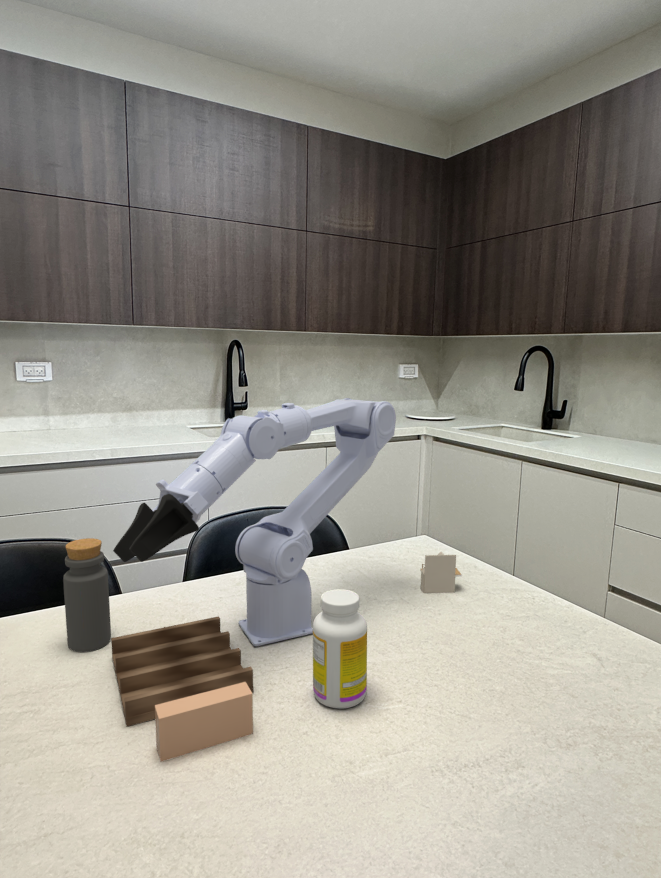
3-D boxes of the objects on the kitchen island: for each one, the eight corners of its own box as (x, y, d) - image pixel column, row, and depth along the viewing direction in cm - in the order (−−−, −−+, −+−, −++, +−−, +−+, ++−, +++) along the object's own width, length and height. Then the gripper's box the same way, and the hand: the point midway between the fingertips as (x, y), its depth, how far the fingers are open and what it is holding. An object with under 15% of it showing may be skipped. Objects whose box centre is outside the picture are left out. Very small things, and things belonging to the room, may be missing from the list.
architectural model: (418, 588, 103) (419, 549, 102) (455, 587, 103) (457, 548, 102) (422, 595, 99) (424, 555, 98) (461, 595, 100) (463, 555, 99)
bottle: (95, 654, 78) (89, 552, 76) (58, 650, 79) (51, 548, 77) (119, 634, 84) (114, 538, 82) (84, 630, 85) (78, 535, 83)
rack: (218, 634, 84) (218, 616, 84) (253, 692, 70) (253, 670, 69) (112, 658, 77) (111, 637, 77) (126, 726, 63) (125, 702, 63)
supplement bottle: (372, 685, 72) (374, 589, 70) (357, 716, 65) (359, 612, 64) (323, 675, 74) (323, 582, 72) (304, 704, 68) (304, 603, 66)
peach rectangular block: (246, 721, 65) (245, 681, 64) (253, 734, 62) (252, 693, 62) (156, 747, 60) (154, 705, 59) (160, 763, 58) (158, 718, 57)
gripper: (168, 465, 79) (90, 534, 71) (206, 447, 67) (118, 528, 60) (201, 502, 80) (129, 573, 73) (244, 491, 69) (163, 574, 61)
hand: (126, 556), depth 66 cm, fingers open, 7 cm apart
